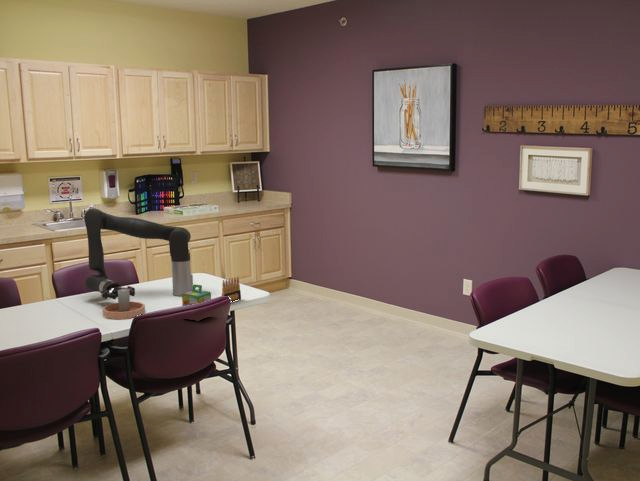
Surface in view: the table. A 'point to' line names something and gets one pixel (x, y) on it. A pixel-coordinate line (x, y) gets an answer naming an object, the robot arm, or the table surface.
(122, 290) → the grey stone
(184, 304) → the chalk box
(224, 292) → the ammunition clip
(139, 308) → the terracotta bowl
